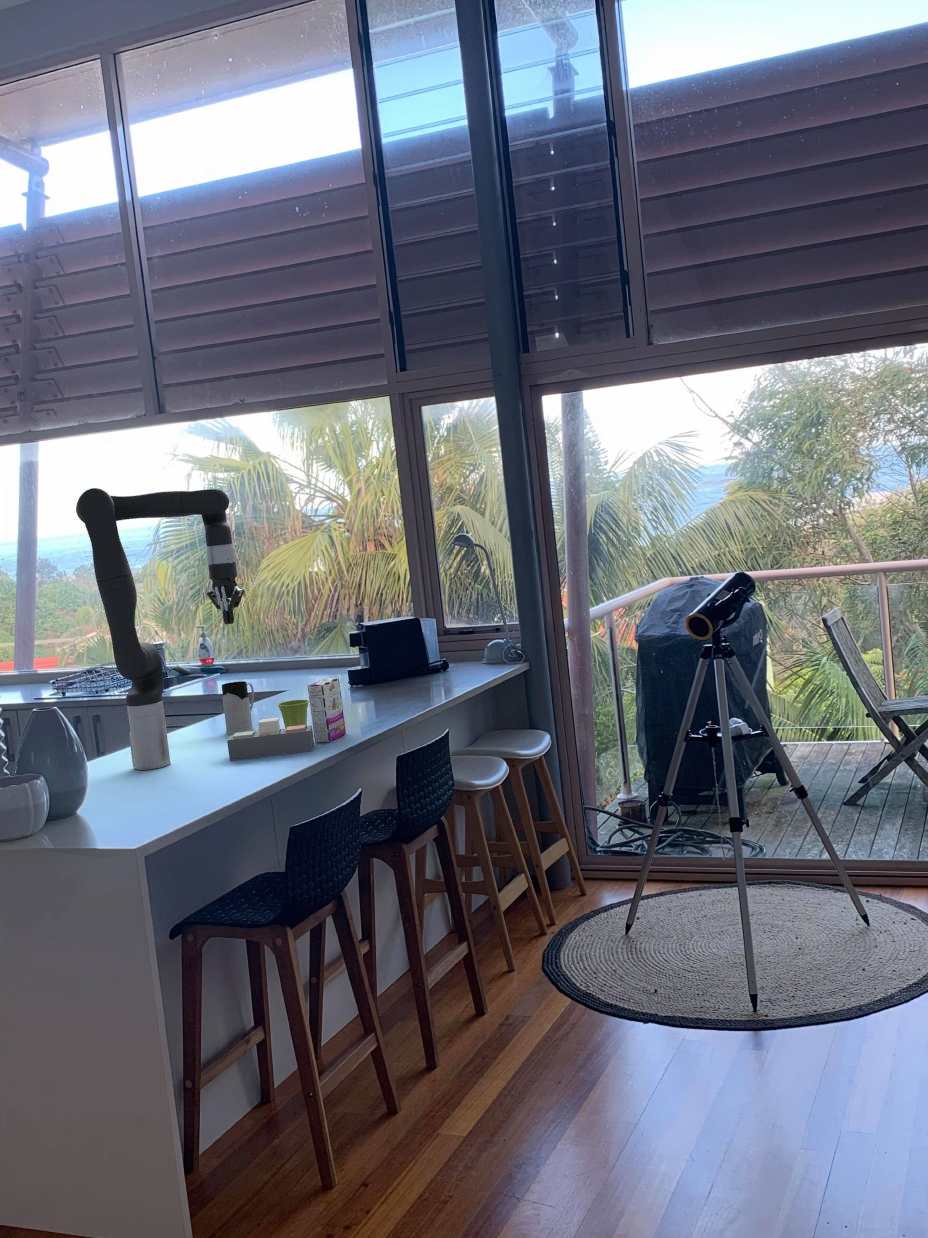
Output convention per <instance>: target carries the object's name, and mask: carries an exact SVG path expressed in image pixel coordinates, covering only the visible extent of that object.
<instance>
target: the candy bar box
mask: <svg viewBox="0 0 928 1238" xmlns="http://www.w3.org/2000/svg"><path fill="white" fill-rule="evenodd" d="M307 692H308V699H309V708H310V714H311V715H310V716H311V720H312V721H311V723H312V731H313V739H314V744H321V743H322V744H324V743H325V744H326V743H332V742H334V741H335V740H337V739H339V738H341V737H343V736H345V735H346V734H347V730H346V722H345V717H344V716H345V715H344V708H343V707H344V706H343V700H342V692H341V686H340V678H339V677H329V678H328V677H326V678H324V679H323V678H322V679H321V680H317V681H315V682H313V683H311V684H309V685H307Z"/></svg>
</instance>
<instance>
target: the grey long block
mask: <svg viewBox="0 0 928 1238" xmlns="http://www.w3.org/2000/svg"><path fill="white" fill-rule="evenodd" d="M286 729H287V728H286ZM286 729H285V728H280V733H278V732H275V733H271V735H267V734H260V733H259V731H254V736H253V737H245V738H236V739H233V736H234V735H229V737H228V739H227V741H226V742H227V750H228V757H229V761H231V762H232V761H238V760H248V759H254V758H256V759H257V758H263V757H272V756H281V755H290V754H297V753H306V752H313V751H314V748H315V738H314V731H313V724H311V725H307V726H306V730H305V731H296V732H288V733H286Z"/></svg>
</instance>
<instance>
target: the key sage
mask: <svg viewBox="0 0 928 1238" xmlns="http://www.w3.org/2000/svg"><path fill="white" fill-rule="evenodd" d="M254 732H255V730H254V731H248V732H240V733H235V734H234V736H233V739H236V738H245V737H253V736H254Z"/></svg>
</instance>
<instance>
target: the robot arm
mask: <svg viewBox="0 0 928 1238" xmlns="http://www.w3.org/2000/svg"><path fill="white" fill-rule="evenodd" d="M229 506H230V498H229V496H228V494H227V493H226V492H225V491H223V490H222V489H219V488H208V489H200V490H188V491H187V490H172V491H171V490H169V491H156V492H150V493H145V494H138V495H137V494H136V495H130V496H129V495H127V496H126V495H125V496H121V495H120V496H119V495H110V494H109V493H108V492H107V491H105V490H103V489H101V488H97V487H93V488H88V489H86V490H85V491H83V492H82V493H81V495H79V497H78V500H77V501H76V505H75V511H76V512H75V513H76V515H77V517H78V519H79V520H80V521H81V522H82V523H83V524H84V526H85V529H86V530H87V534H88V537H89V540H90V544H91V551H92V562H93V569H94V576H95V580H96V584H97V589H98V591H99V595H100V598H101V599H100V600H101V602H102V605H103V608H104V613H105V617H106V621H107V625H108V628H109V633H110V638H111V645H112V651H113V658H114V663H115V667H116V669H117V671H118V673H119V675H120V676H121V677H123V678H124V679H126V680H127V681H131V687H130V689H129V691H128V693H127V694H126V697H125V700H126V701H125V702H126V708H127V715H128V716H127V717H128V722H129V731H130V732H129V733H128V739H129V747H130V755H131V761H132V763H131V764H132V768H133V769H135V770H139V771H144V770H155V769H159V768H160V769H161V768H163V767H164V768H165V767H167V766H169V765H170V764H171V756H170V748H169V747H170V746H169V740H168V733H167V725H166V718H165V711H164V709H165V708H164V703H163V702H164V701H163V692H164V673H163V672H164V671H163V663H162V658H161V653H160V651H159V650H158V649H157V647H156V646H155V645H154V644H153V643H150V642H141V641H140V640H139V636H138V633H137V628H136V621H135V620H136V610H137V600H138V599H137V597H138V593H137V588H136V584H135V579H134V577H133V573H132V569H131V567H130V563H129V560H128V558H127V555H126V552H125V549H124V546H123V544H122V540H121V538H120V535H119V530H118V524H117V522H118V521H125V520H136V519H156V518H160V519H161V518H164V519H165V518H179V517H180V518H182V517H184V518H185V517H190V516H195V515H198V516H201V518H202V524H203V526H204V531H205V532H204V533H205V536H204V537H205V544H206V559H207V560H206V561H207V565H208V575H209V580H211V582H212V585H211V587H212V589H210V591H207V593H206V594H207V597H208V598H209V600H210V601H211V603H212V605H214V607H215V608H216V609H217V610H220V611H221V613H222V620H223V621H222V622H224V623H223V624H224V625H233V624H234V622H235V616H234V615H235V614H234V610H235V609H236V608H238V607H239V606H240V603H241V601H242V598H243V597H244V594H245V590H244V589H243V588H241V589H240V587H239V586H238V582H237V580H236V578H237V577H238V572H237V571H238V570H237V562H236V555H235V548H234V544H233V537H232V530H231V527H230V525H229V524H228V521H227V520H228V519H227V512H226V511H227V509H228V508H229Z"/></svg>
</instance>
